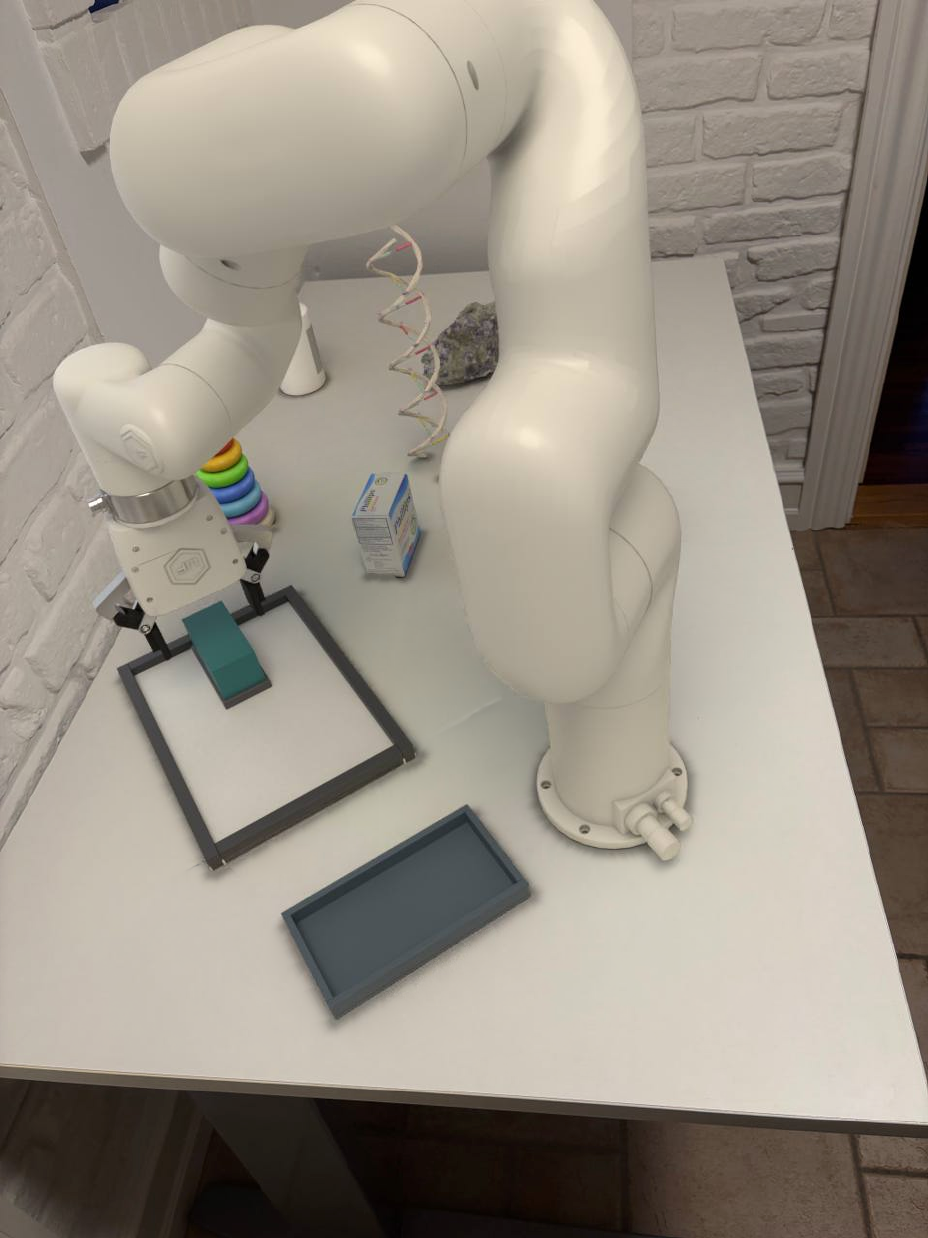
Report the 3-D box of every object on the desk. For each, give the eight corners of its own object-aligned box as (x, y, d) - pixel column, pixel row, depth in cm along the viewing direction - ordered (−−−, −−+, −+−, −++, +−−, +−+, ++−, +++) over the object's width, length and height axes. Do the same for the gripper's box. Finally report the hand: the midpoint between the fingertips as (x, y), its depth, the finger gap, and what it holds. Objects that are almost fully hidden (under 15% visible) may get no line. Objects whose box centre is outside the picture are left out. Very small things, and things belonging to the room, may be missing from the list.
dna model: (466, 473, 118) (426, 230, 97) (417, 489, 117) (367, 247, 96) (448, 446, 123) (407, 210, 102) (401, 462, 122) (350, 226, 101)
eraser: (272, 686, 94) (258, 651, 91) (226, 710, 93) (209, 675, 90) (237, 631, 101) (222, 596, 98) (193, 652, 100) (177, 618, 96)
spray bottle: (335, 376, 140) (304, 256, 128) (306, 399, 136) (272, 278, 124) (300, 368, 143) (267, 251, 131) (271, 391, 140) (234, 272, 127)
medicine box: (405, 578, 105) (389, 516, 99) (366, 577, 106) (349, 515, 100) (421, 533, 110) (408, 471, 104) (384, 532, 111) (369, 471, 105)
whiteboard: (416, 757, 86) (413, 745, 85) (212, 872, 81) (205, 860, 79) (295, 596, 105) (291, 584, 104) (122, 679, 99) (116, 668, 98)
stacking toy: (198, 541, 115) (141, 406, 102) (238, 502, 120) (188, 368, 107) (250, 554, 112) (197, 416, 99) (288, 514, 117) (243, 377, 104)
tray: (530, 897, 75) (528, 883, 73) (335, 1020, 70) (329, 1008, 68) (470, 817, 81) (467, 803, 80) (287, 925, 76) (280, 913, 75)
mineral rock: (425, 396, 133) (412, 329, 126) (429, 358, 140) (417, 293, 134) (517, 385, 131) (510, 317, 124) (516, 347, 139) (509, 281, 132)
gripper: (62, 551, 77) (138, 693, 88) (259, 468, 82) (306, 612, 94) (41, 507, 82) (116, 647, 93) (228, 431, 87) (277, 572, 99)
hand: (211, 629), depth 93 cm, fingers open, 9 cm apart
